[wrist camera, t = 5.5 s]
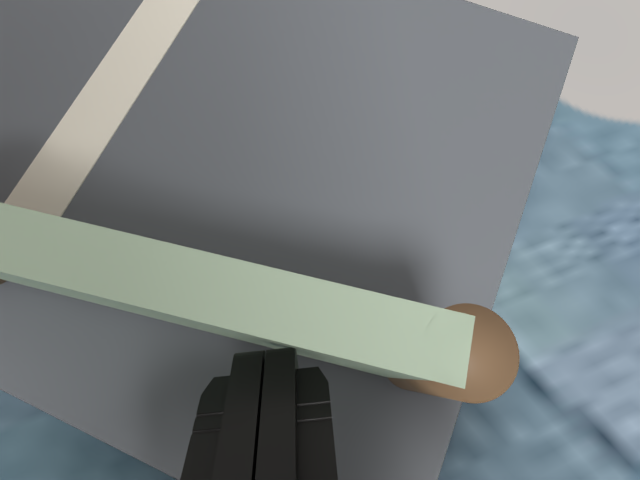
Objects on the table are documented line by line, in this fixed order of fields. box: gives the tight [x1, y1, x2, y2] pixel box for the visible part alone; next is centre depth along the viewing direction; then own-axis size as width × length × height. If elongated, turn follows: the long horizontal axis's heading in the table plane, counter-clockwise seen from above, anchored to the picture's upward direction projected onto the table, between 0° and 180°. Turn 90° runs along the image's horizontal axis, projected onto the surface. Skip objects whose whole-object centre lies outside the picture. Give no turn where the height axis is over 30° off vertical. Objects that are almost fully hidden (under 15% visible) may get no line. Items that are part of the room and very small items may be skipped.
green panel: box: [0, 203, 519, 403], centre depth 13 cm, size 18×2×7 cm, turn 76°
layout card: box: [0, 0, 578, 480], centre depth 19 cm, size 23×33×1 cm
